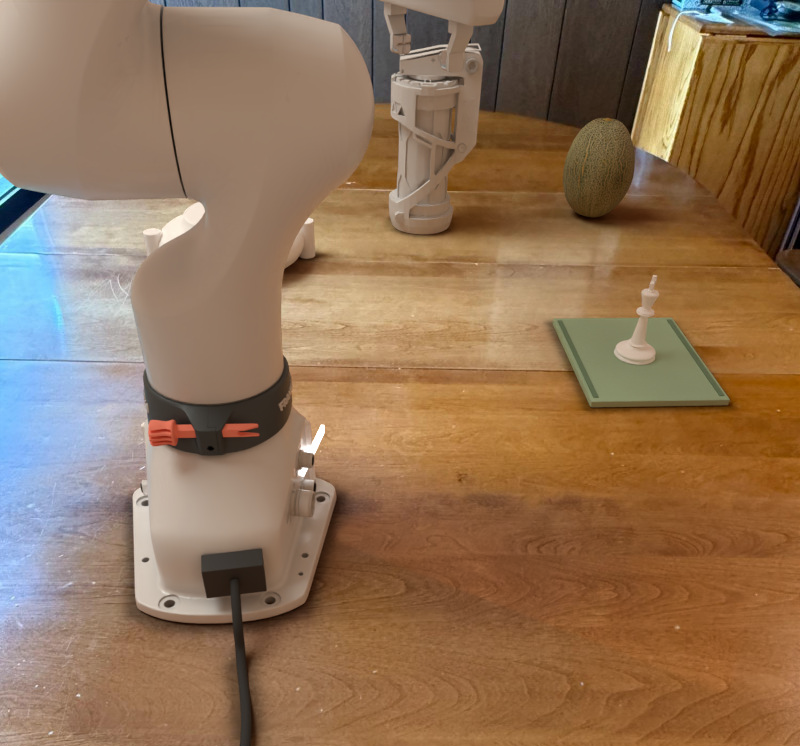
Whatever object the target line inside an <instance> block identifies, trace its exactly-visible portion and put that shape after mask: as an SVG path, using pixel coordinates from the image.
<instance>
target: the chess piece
mask: <svg viewBox="0 0 800 746" xmlns="http://www.w3.org/2000/svg"><path fill="white" fill-rule="evenodd" d="M657 281H658V275H656V274H653V275H652V277H651V281H650V282H649V285H648V288H643V289H642V290H641V291H640V296H641V306H639V307H637V308H636V310H635V313H636V314H637V315H638V316H639V317H638V318H639V320H638V323H637V326H636V328H635V331H634V333H633V336H632V338H631V339H629V340H625V341H621V342H619V343H618V344H617V345H616V348H615V350H614V354H615V356H616V357H617V358H618V359H620V360H621V361H623V362H626V363H629V364H634V365H645V364H649V363H651V362H653V361H654V360H655V354H656V352H655V349H654V348H653V347H652V346H651V345H649V344H647V342H646V341H645V338H646V330H647V323H648V318H653V317H654V316H655V314H656V313H655V309H653V306H654V304H655V302H656V301H657V300H658V298H659V296H660V292H659V290H656V289H655V285H656V284H657Z"/></svg>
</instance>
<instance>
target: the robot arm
mask: <svg viewBox="0 0 800 746" xmlns="http://www.w3.org/2000/svg"><path fill="white" fill-rule="evenodd" d="M378 1H379V2H382V3H383V16H384V19H385V22H386V23H385V24H386V26H387V29H388V33H389V50H390V52H391V53H393V54H396V55H399V56H400V55H402V54H408V53H409V52H410V51H412V49H411V47H412V46H411V42H412V35H411V34H409V33H408V32H407V31H408V30H407V26H406V25H407V24H406V19H405V15H407V13H408V10H411V11H415V12H419V13H422V14H425V15H429V16H432V17H436V18H440V19H443V20H447V21H448V23H447V24H448V25H447V33H448V34H451V35H450V38H449V41H448V43H447V44H448V47H447V50H442V51H441V60H442V61H441V68H442V69H443V70H445V71H448V72H451V73H453V72H459V71H461V69H462V67H463V53H464V51H465V49H466V47H467V45H468V44H470V41H471V38H472V36H473V35H474V27H481V26H489V25H490V26H491V25H494V24H496V23H497V21H498V20H499V18H500V16H501V14H502V13H503V10H504V6H505V0H378ZM374 123H375V95H374V88H373V83H372V79H371V75H370V72H369V70H368V65H367V64H366V61H365V59H364V57H363V55H362V53H361V51H360V50H359V48H358V46H357V43H355V41H354V40H353V39H352V37H351V36H350V34H349V33H348V32H347V31H346V30H345V28H344V27H342V26H341V24H339V23H337V22H332V21H329V20H325V19H321V18H317V17H314V16H309V15H306V14H302V13H298V12H294V11H288V10H284V9H279V8H274V7H270V6H266V7H265V6H165V5H164V4H157V3H154V2H151V1H150V0H0V175H1V176H2V177H3V178H4V179H5V180H6V181H8V182H9V183H10V184H11V185H13V186H14V187H16V188H18V189H21V190H28V191H32V192H37V193H43V194H48V195H52V196H60V197H65V198H69V199H70V198H71V199H78V200H83V201H89V202H92V201H93V202H94V201H95V202H97V201H98V202H99V201H128V200H129V201H130V200H132V201H133V200H168V199H169V200H170V199H171V200H172V199H173V200H174V199H188V200H190V201H196V202H200V203H201V204H202V205H203V207H204V210H205V213H204V214H203V216H202V218H201V219H200V220H199V222H198V223H197V224H196V225H194V226H193V227H192V228H191V229H189V230H188V231H186V232H185V233H183V234H181V235H180V236H178V237H176V238H174V239H172V240H170V241H168V242H167V243H165V244H163V245H162V246H160V247H159V248H158V249H156V250H155V251H154V252H152V253H151V254H150V255H149V256H148V257H147V256H146V258H145V259H144V260H143V261H142V262H141V263H140V265H139V266H138V268H137V269H136V271H135V272H134V273H135V274H134V276H133V279H132V281H131V286H130V295H129V296H130V306H131V309H132V313H133V318H134V322H135V327H136V332H137V336H138V341H139V346H140V350H141V354H142V359H143V363H144V370H143V374H142V382H143V389H142V390H143V392H142V394H143V402H144V408H145V410H146V417H147V418H146V419H145V420H144V421H143V422H142V423H140V429H141V432H142V433H141V434H142V437H143V440H144V441H143V442H144V448H145V451H144V452H145V466H146V468H145V469H146V479H141V483H140V487H138V488H137V489H136V490H135V491H134V492H133V494H132V530H133V531H132V533H133V568H134V570H133V571H134V572H133V573H134V574H133V575H134V577H133V578H134V598H135V599H134V600H135V604H136V608H137V609H138V610H139V611H140V612H142V613H145V614H146V615H149V616H151V617H155V618H158V619H161V620H165V621H170V622H175V623H176V622H177V623H185V624H232V631H233V632H232V633H233V639H234V640H233V641H234V642H233V643H234V650H235V651H234V652H235V663H236V672H237V682H238V683H237V684H238V693H239V704H240V705H239V706H240V735H239V736H240V739H239V746H252V745H251V744H252V703H251V693H250V692H251V691H250V683H249V675H248V674H249V673H248V667H247V664H248V663H247V655H246V643H245V642H246V641H245V633H244V624H243V623H244V622H252V621H257V620H264V619H268V618H272V617H276V616H279V615H283V614H285V613H288V612H291V611H292V610H295V609H296V608H298V607H301V606H302V605H303V604H305V603H306V601H307V600H308V597H309V594H310V591H311V587H312V584H313V581H314V578H315V575H316V570H317V567H318V563H319V560H320V557H321V553H322V550H323V546H324V543H325V540H326V537H327V533H328V530H329V526H330V522H331V520H332V516H333V512H334V509H335V506H336V502H337V492H336V488H335V486H334V485H333V484H332V483H330V482H328V481H326V480H323V479H322V478H320V477H317V474H316V464H315V454H316V452H317V450H318V449H319V446H320V443H321V441H322V439H323V437H324V435H325V424H320V426H319V429H318V430H317V432H316V435H315V436H314V439H313V434H312V433H313V432H312V424H311V421H310V420H308V419H307V418H306V417H305V416H304V415H303V414H301V413H300V412H299V411H298V410H297V409H296V407H294V405H293V379H292V373H291V372H290V365H289V362H288V359H287V358H286V356H285V355H284V351H283V350H284V348H283V335H282V334H283V332H282V290H283V289H282V288H283V280H284V273H285V269H286V268H285V264H286V261H287V258H288V255H289V252H290V249H291V247H292V245H293V243H294V240H295V238H296V237H297V235H298V233H299V231H300V230H301V228H302V226H303V225H304V223H305V222H306V220H307V219H308V218H310V216H311V215H312V214H313V213H314V212H315V210H316V209H317V208H318V206H319V205H320V204H321V203H323V201H324V200H325V199H327V197H329V196H330V195H331V194H332V193H334V191H336V190H337V189H338V188H340V187H341V186H342V185H343V184H345V183H346V182H347V181H348V180H349V179H350V178H351V177H352V176H353V174H354V173H355V171H356V170H357V169H358V168H359V166H360V164H361V162H362V160H363V159H364V157H365V155H366V152H367V150H368V148H369V145H370V141H371V139H372V134H373V129H374ZM284 268H285V269H284Z"/></svg>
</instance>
